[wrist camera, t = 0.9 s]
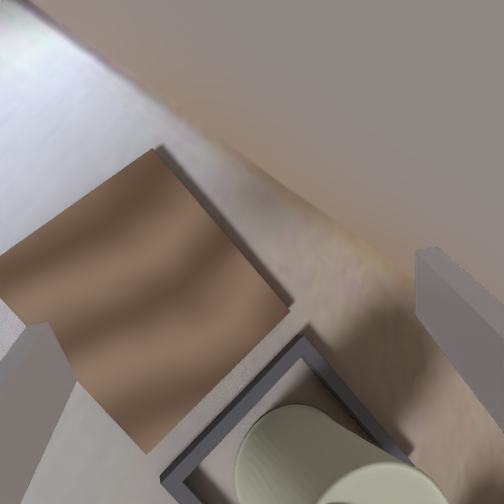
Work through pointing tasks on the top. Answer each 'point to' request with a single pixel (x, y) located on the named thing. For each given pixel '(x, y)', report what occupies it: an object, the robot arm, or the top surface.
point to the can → (322, 465)
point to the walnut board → (141, 297)
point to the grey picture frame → (250, 397)
